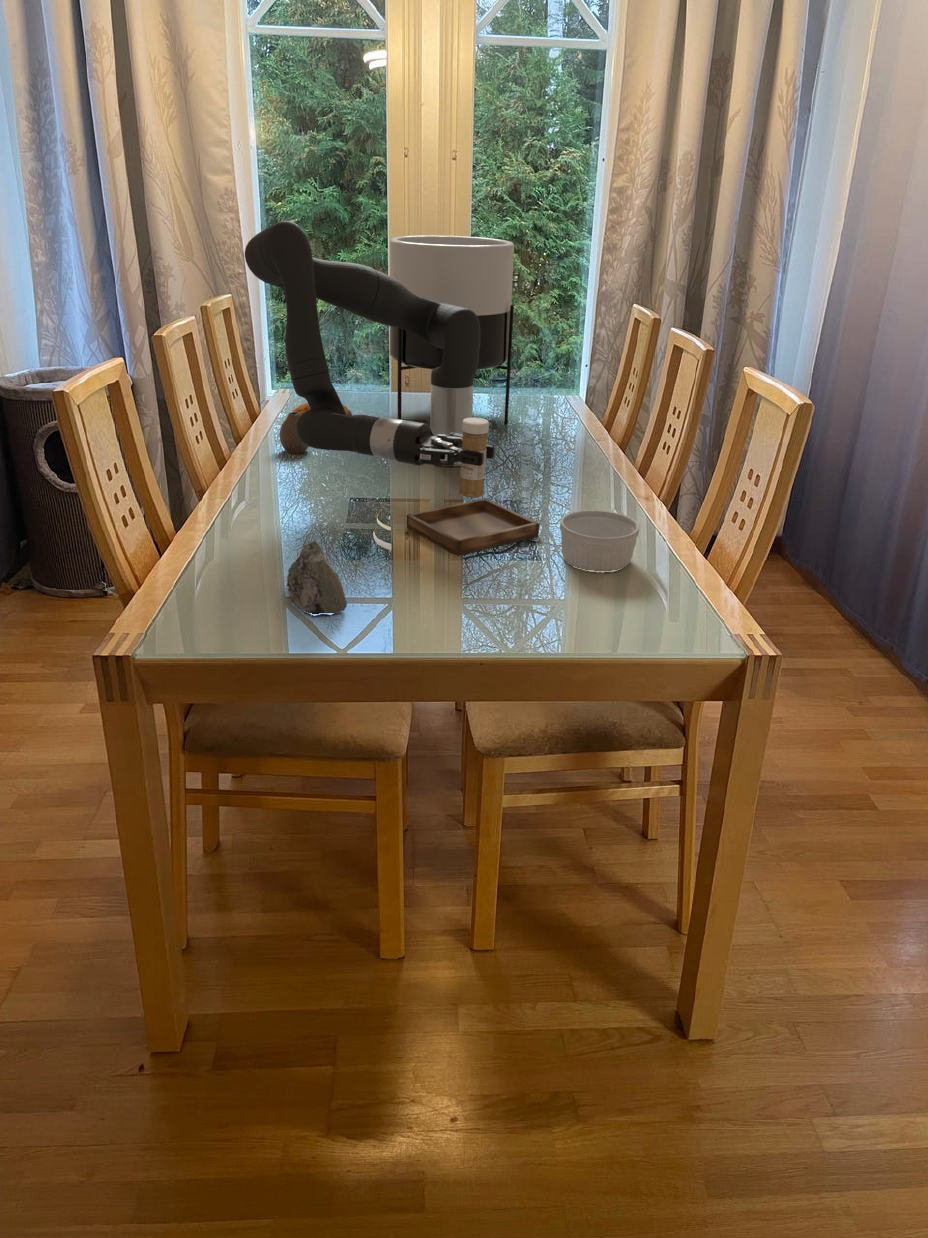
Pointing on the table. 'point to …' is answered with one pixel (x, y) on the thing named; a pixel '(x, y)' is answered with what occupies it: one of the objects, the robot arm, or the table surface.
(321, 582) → the mineral rock
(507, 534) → the walnut tray
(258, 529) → the table surface
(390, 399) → the table surface
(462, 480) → the sprinkles bottle
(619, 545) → the ramekin
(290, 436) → the vase
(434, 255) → the planter
